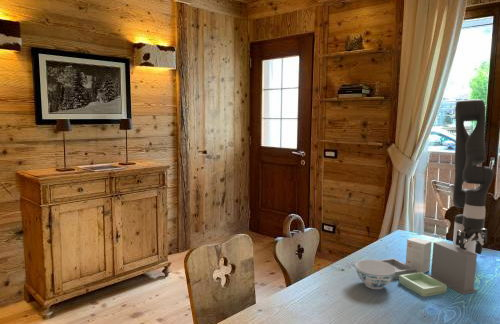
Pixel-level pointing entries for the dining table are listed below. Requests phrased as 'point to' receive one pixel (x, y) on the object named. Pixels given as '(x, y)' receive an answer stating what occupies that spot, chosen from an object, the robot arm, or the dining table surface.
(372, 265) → the chinaware
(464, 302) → the dining table surface
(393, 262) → the grey tray
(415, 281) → the sage tray
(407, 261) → the small box
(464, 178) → the robot arm
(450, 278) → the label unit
